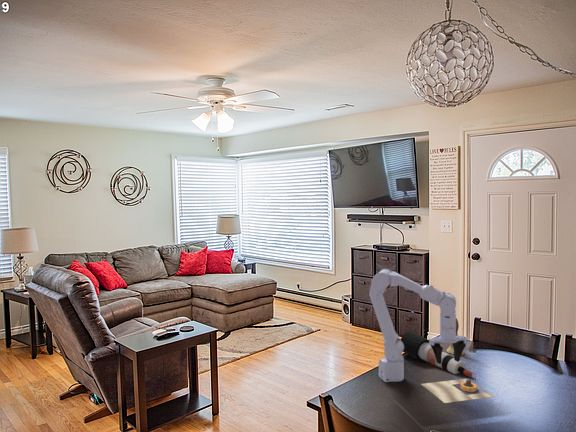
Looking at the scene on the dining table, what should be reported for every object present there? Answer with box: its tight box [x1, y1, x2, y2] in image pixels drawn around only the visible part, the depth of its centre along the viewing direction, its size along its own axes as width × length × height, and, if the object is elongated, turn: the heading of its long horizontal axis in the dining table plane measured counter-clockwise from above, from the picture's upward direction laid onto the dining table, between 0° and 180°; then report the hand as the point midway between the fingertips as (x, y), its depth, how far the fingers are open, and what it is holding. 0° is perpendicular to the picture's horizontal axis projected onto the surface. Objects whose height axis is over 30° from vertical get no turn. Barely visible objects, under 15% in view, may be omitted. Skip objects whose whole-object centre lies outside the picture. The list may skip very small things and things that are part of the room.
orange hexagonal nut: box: [459, 382, 478, 393], centre depth 162 cm, size 5×5×3 cm
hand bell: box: [445, 317, 466, 356], centre depth 203 cm, size 8×8×16 cm
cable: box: [400, 330, 473, 378], centre depth 186 cm, size 10×34×10 cm, turn 27°
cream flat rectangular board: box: [420, 378, 495, 404], centre depth 161 cm, size 20×16×4 cm
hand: (447, 361), depth 164 cm, fingers open, 7 cm apart
